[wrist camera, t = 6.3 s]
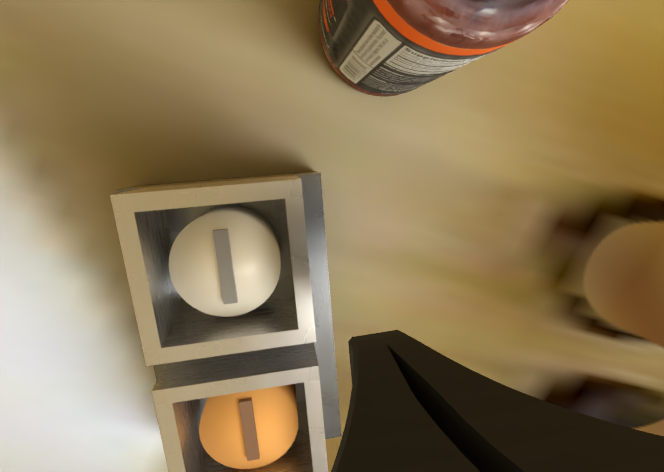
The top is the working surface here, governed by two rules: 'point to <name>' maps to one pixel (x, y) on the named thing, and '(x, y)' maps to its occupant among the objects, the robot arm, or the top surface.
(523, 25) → the supplement bottle
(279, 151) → the top surface
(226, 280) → the cream knob
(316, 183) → the knob mount
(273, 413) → the orange knob
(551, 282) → the top surface
